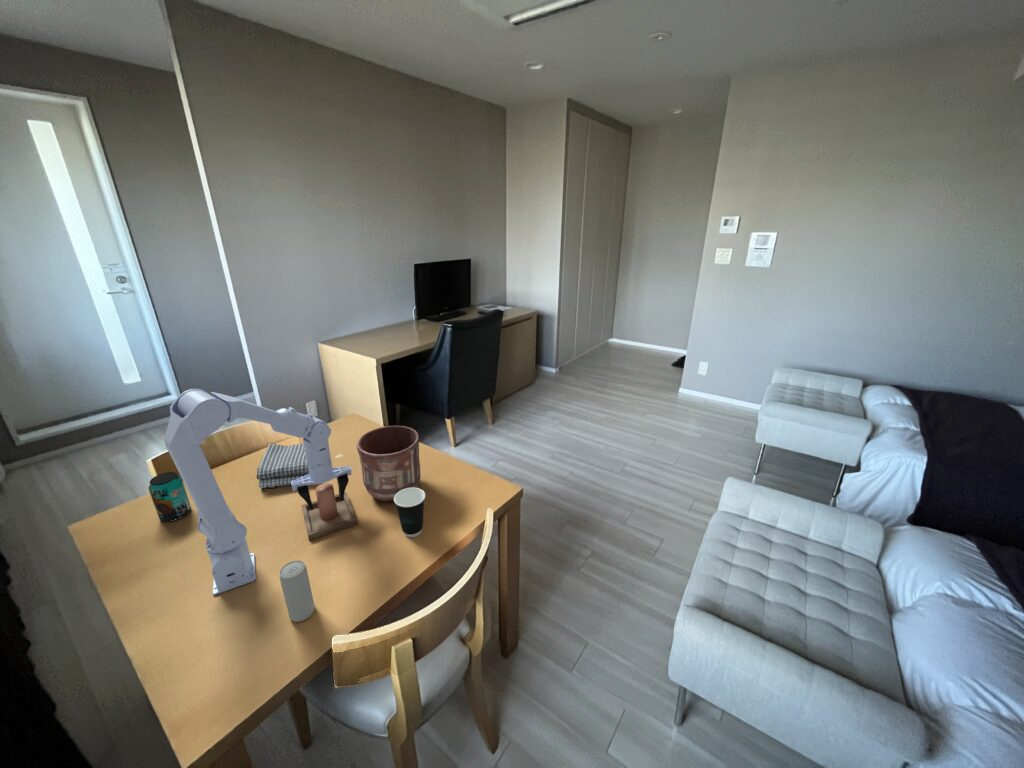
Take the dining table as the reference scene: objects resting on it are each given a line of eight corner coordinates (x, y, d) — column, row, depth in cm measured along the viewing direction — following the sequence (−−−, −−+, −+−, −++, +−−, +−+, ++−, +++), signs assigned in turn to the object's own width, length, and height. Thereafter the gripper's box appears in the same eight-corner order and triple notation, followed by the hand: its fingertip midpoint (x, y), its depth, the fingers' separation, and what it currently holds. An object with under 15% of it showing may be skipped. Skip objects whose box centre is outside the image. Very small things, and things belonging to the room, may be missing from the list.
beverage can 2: (284, 615, 84) (273, 571, 80) (307, 599, 88) (297, 556, 84) (297, 627, 82) (287, 582, 77) (320, 610, 86) (310, 566, 81)
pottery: (355, 486, 126) (348, 435, 120) (408, 467, 136) (404, 419, 130) (375, 517, 113) (368, 462, 107) (432, 494, 123) (429, 443, 117)
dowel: (339, 517, 112) (334, 489, 109) (322, 522, 110) (317, 495, 106) (335, 508, 115) (331, 481, 112) (319, 513, 113) (314, 486, 110)
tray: (357, 524, 110) (356, 519, 110) (309, 540, 104) (308, 535, 104) (346, 497, 121) (345, 491, 121) (302, 510, 115) (301, 505, 115)
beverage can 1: (154, 517, 111) (140, 480, 107) (183, 503, 117) (171, 468, 113) (168, 526, 108) (154, 488, 104) (196, 511, 114) (185, 475, 110)
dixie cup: (422, 517, 113) (420, 484, 109) (431, 534, 107) (429, 500, 103) (394, 526, 110) (390, 492, 106) (402, 545, 103) (398, 509, 99)
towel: (258, 493, 123) (252, 471, 120) (269, 462, 139) (265, 442, 136) (313, 484, 128) (309, 462, 125) (318, 455, 144) (314, 435, 141)
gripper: (345, 446, 113) (351, 487, 118) (286, 460, 106) (295, 503, 111) (350, 458, 107) (356, 500, 112) (289, 474, 100) (298, 518, 105)
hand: (326, 503), depth 111 cm, fingers open, 7 cm apart
